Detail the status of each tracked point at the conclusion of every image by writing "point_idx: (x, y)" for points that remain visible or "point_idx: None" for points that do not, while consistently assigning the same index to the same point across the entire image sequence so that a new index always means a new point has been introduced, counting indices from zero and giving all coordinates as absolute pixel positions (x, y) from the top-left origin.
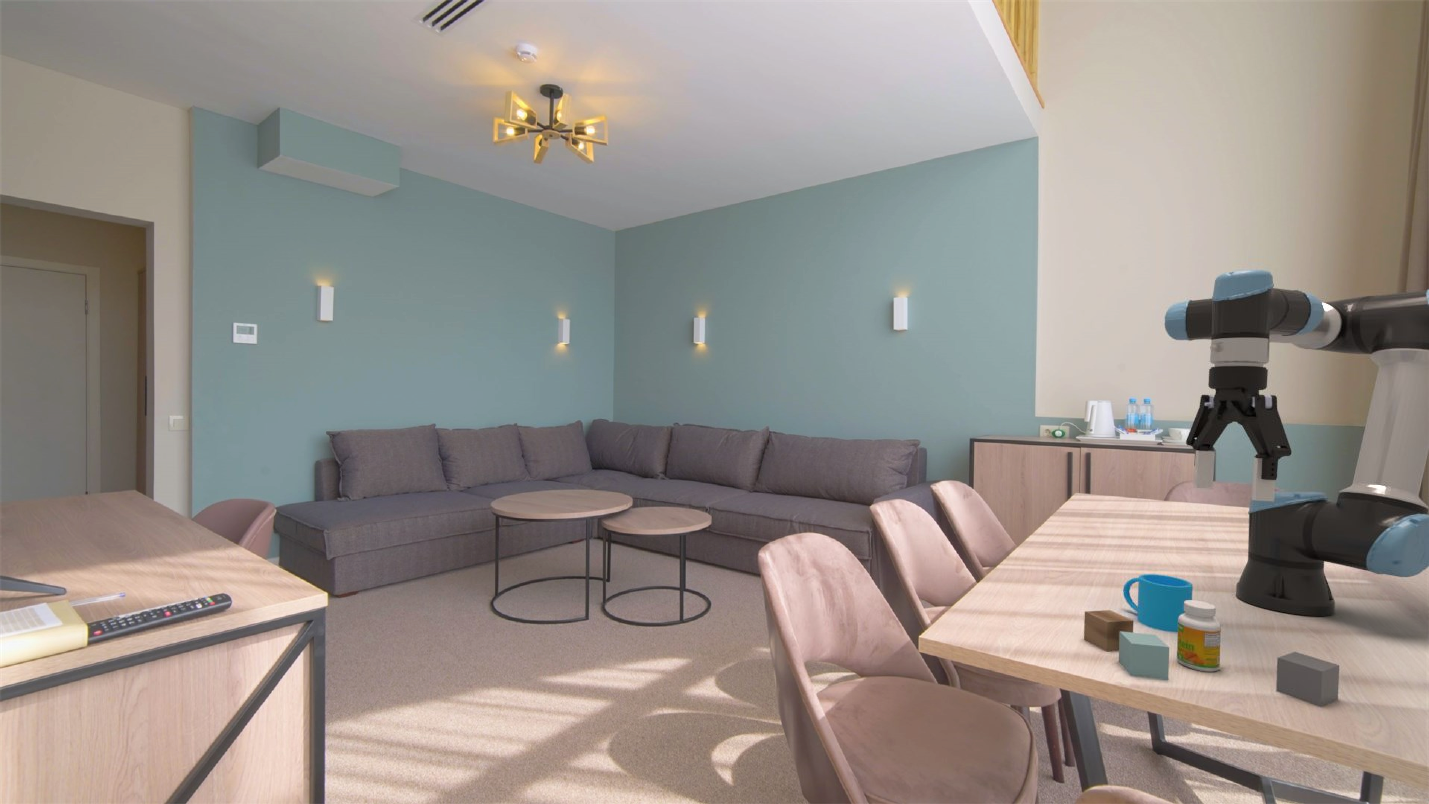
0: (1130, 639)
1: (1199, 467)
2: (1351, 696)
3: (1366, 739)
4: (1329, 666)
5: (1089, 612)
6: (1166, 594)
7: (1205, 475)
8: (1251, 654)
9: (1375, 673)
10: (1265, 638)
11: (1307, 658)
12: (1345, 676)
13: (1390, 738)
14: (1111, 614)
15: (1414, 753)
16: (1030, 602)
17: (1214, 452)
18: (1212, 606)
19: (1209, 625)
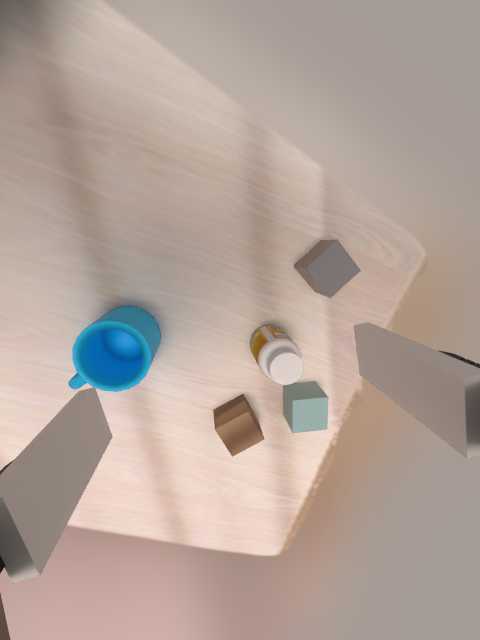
0: (315, 427)
1: (79, 487)
2: (309, 221)
3: (398, 264)
4: (343, 253)
5: (233, 452)
6: (152, 359)
7: (85, 440)
8: (213, 270)
9: (230, 145)
10: (138, 221)
11: (325, 265)
12: (252, 192)
13: (393, 242)
14: (233, 430)
15: (415, 239)
16: (108, 475)
17: (4, 493)
18: (292, 356)
19: (301, 357)
